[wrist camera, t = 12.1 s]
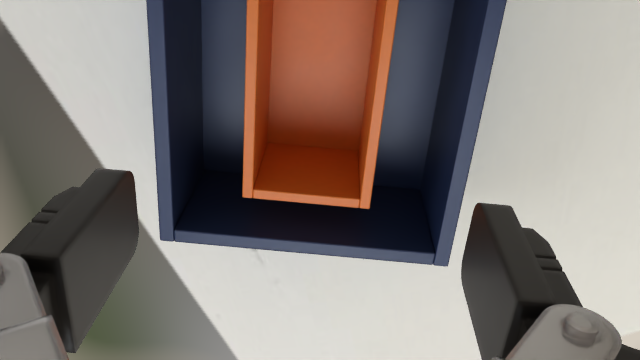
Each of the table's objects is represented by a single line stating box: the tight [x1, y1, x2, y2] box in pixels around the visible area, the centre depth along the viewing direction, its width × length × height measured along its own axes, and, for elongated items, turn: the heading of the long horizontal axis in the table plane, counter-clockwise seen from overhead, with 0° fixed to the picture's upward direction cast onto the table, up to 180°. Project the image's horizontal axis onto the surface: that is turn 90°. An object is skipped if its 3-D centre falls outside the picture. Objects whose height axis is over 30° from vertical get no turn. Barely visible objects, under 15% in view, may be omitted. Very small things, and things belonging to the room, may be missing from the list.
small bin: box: [242, 0, 399, 209], centre depth 27 cm, size 6×10×6 cm, turn 175°
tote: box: [146, 0, 507, 266], centre depth 28 cm, size 14×14×7 cm
